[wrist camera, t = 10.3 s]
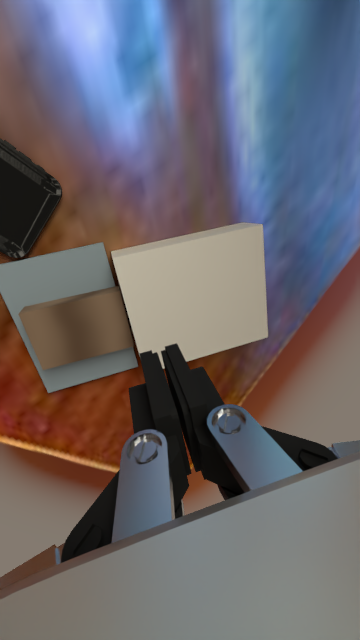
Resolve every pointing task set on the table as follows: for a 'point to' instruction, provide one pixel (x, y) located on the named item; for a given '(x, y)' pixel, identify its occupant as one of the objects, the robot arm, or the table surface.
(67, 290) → the mat
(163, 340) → the riser
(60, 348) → the walnut tile
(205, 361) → the table surface
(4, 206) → the phone
